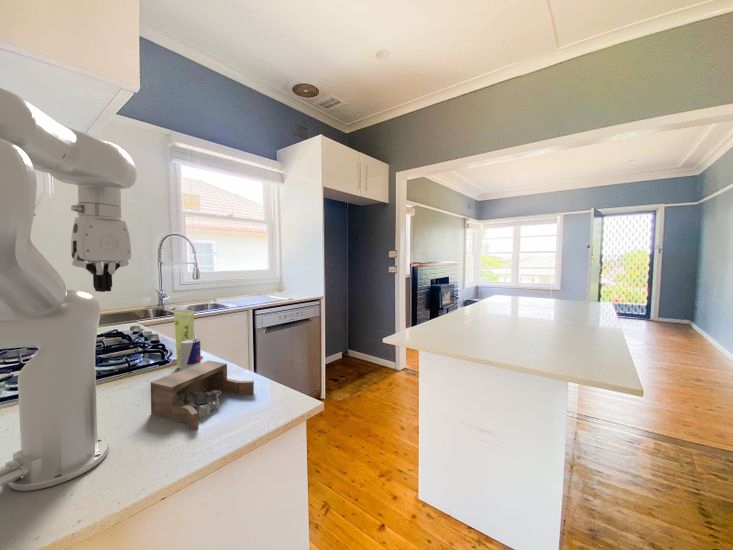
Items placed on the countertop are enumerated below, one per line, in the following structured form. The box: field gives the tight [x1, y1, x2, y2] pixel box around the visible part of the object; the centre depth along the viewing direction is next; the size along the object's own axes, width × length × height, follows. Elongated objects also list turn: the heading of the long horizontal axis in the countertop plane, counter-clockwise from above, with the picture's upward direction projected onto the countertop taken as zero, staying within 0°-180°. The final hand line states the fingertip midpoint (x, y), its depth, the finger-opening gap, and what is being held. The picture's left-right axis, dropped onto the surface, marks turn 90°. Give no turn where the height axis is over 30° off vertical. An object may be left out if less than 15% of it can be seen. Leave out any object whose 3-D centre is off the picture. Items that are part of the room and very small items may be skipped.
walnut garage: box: [150, 360, 255, 431], centre depth 76 cm, size 19×16×8 cm
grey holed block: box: [177, 389, 223, 418], centre depth 74 cm, size 11×8×4 cm
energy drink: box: [179, 338, 202, 371], centre depth 91 cm, size 5×5×12 cm
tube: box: [173, 309, 195, 369], centre depth 101 cm, size 6×5×20 cm
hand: (103, 291), depth 71 cm, fingers closed
